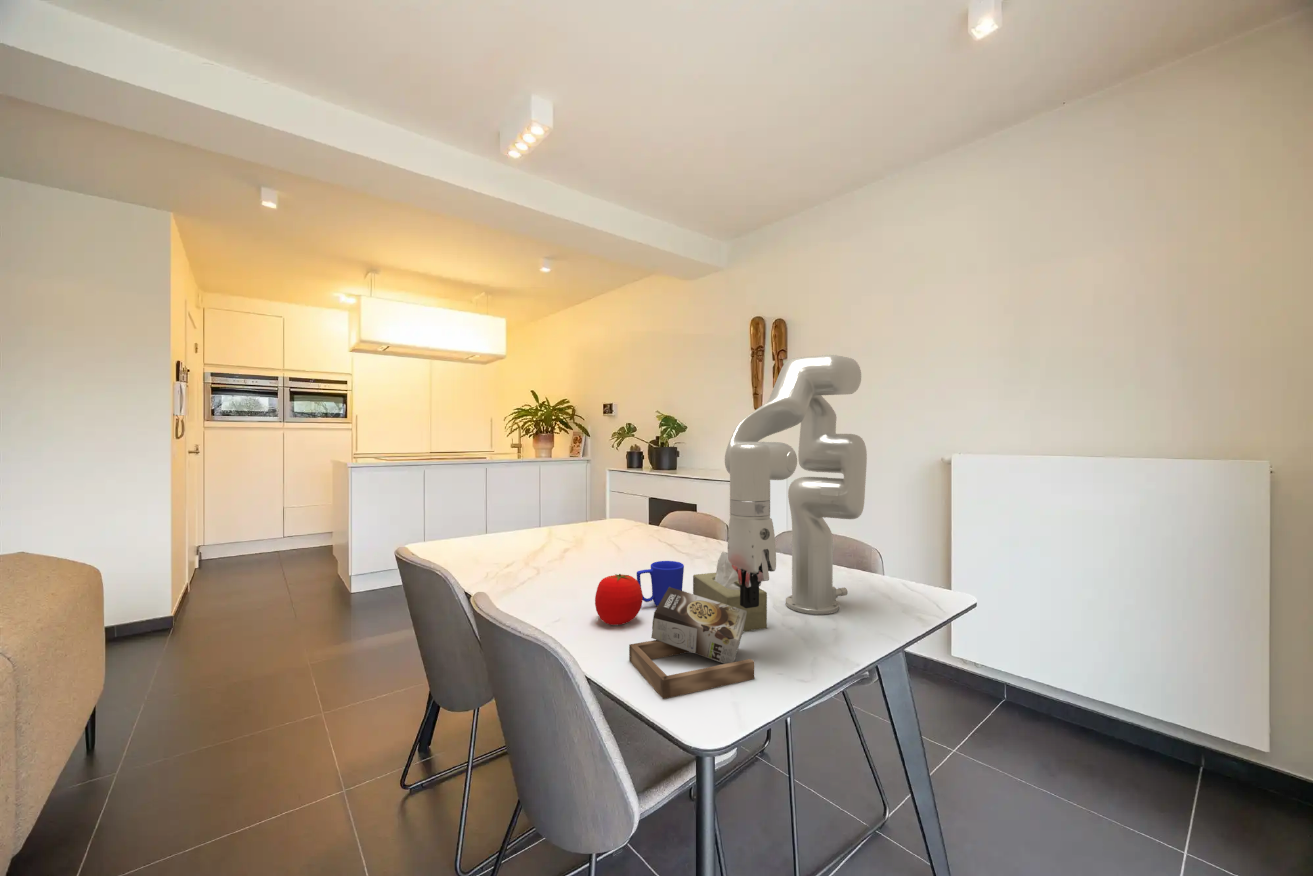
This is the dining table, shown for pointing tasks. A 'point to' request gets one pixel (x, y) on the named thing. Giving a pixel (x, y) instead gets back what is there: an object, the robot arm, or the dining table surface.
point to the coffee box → (699, 625)
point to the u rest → (687, 680)
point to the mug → (663, 578)
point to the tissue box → (730, 592)
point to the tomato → (618, 599)
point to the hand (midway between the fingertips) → (749, 606)
